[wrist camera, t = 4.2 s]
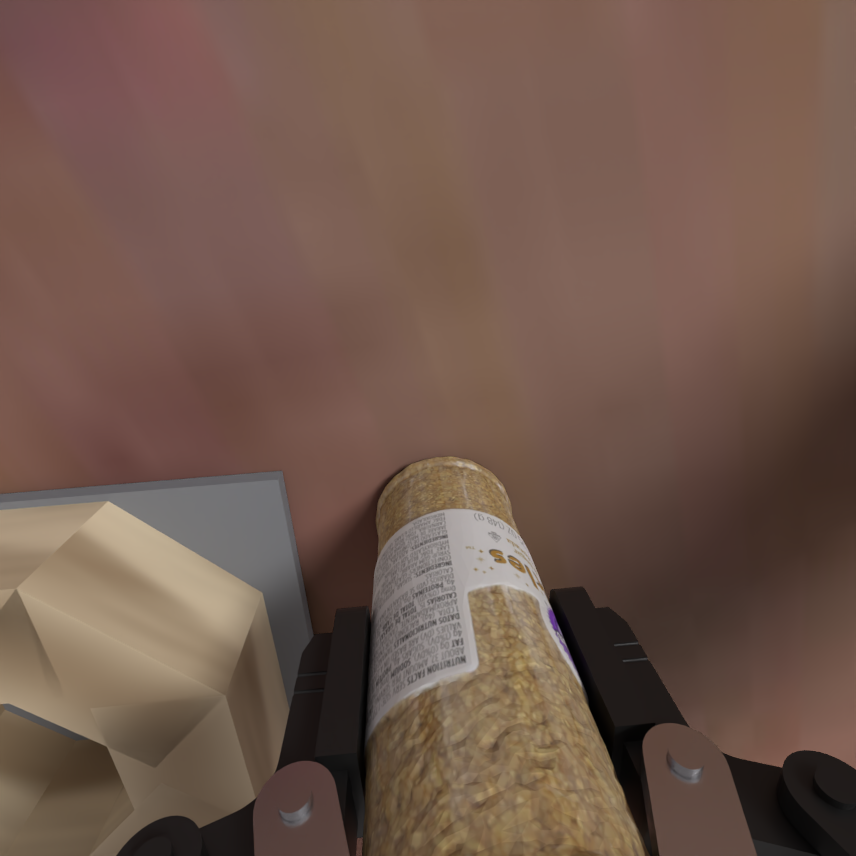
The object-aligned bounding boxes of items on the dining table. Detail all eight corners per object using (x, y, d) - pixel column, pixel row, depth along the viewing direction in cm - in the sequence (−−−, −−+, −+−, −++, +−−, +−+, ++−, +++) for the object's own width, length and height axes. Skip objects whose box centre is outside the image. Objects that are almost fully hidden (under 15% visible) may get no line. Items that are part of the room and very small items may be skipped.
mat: (281, 470, 16) (277, 479, 15) (338, 765, 21) (336, 780, 21) (-242, 514, 15) (-266, 524, 15) (-51, 806, 21) (-63, 822, 20)
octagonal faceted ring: (238, 489, 15) (189, 573, 12) (305, 779, 20) (285, 901, 17) (-218, 528, 15) (-420, 627, 11) (-34, 815, 20) (-132, 948, 16)
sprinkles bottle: (532, 520, 17) (902, 1287, 5) (426, 588, 18) (504, 1401, 6) (457, 422, 16) (714, 1178, 3) (344, 501, 16) (196, 1358, 4)
